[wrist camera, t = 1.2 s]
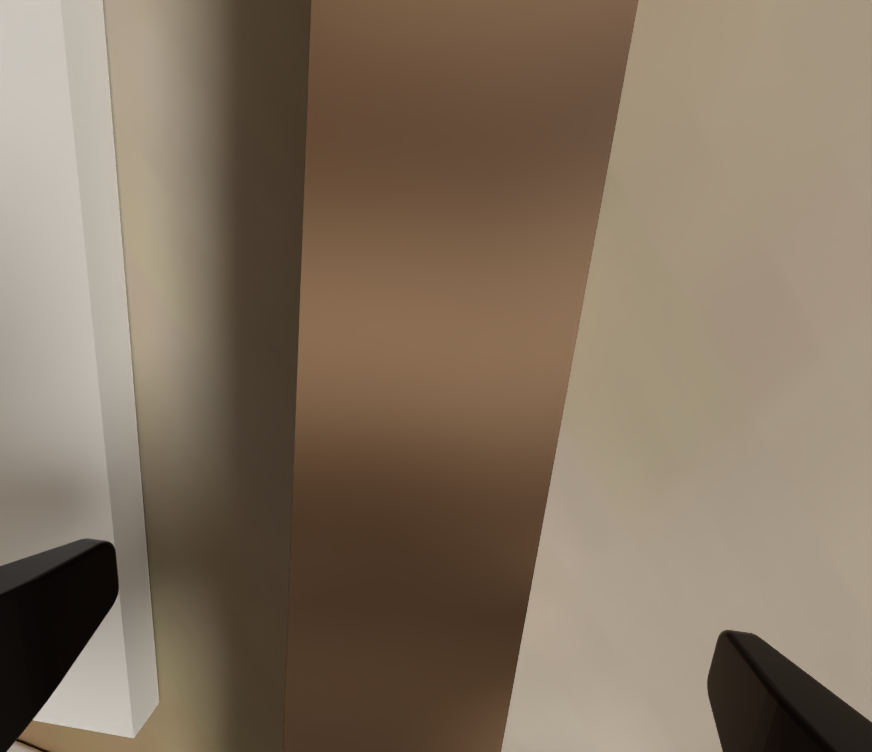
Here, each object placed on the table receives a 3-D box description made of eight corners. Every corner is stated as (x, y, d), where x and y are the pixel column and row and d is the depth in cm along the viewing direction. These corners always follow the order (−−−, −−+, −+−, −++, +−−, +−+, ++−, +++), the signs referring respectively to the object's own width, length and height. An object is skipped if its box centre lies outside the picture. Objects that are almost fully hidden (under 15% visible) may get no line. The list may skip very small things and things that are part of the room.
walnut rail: (469, 773, 16) (455, 1000, 11) (340, 748, 17) (275, 958, 12) (611, -96, 10) (707, -381, 5) (405, -109, 11) (325, -386, 6)
